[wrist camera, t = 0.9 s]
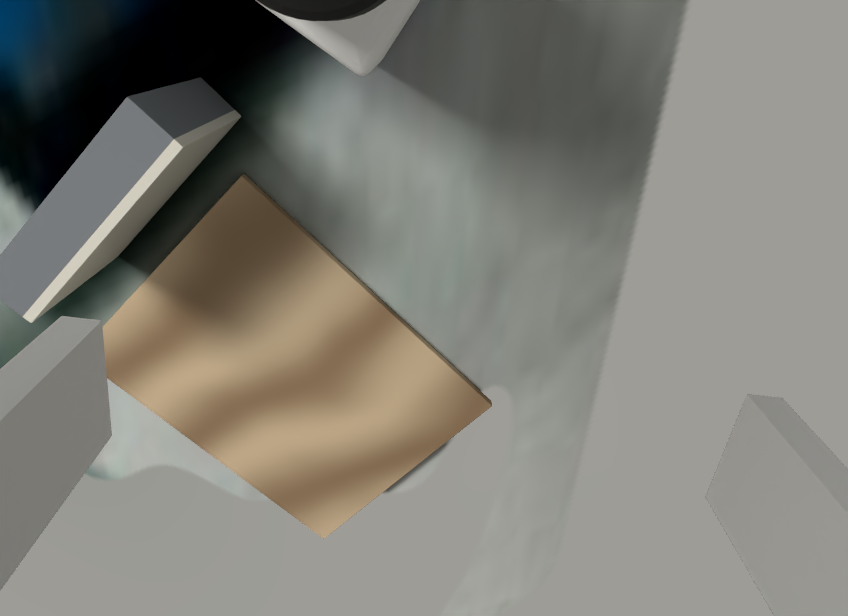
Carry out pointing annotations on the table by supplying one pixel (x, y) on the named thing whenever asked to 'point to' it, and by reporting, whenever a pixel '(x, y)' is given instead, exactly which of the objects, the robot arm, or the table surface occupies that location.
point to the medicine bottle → (347, 26)
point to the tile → (112, 192)
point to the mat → (284, 363)
